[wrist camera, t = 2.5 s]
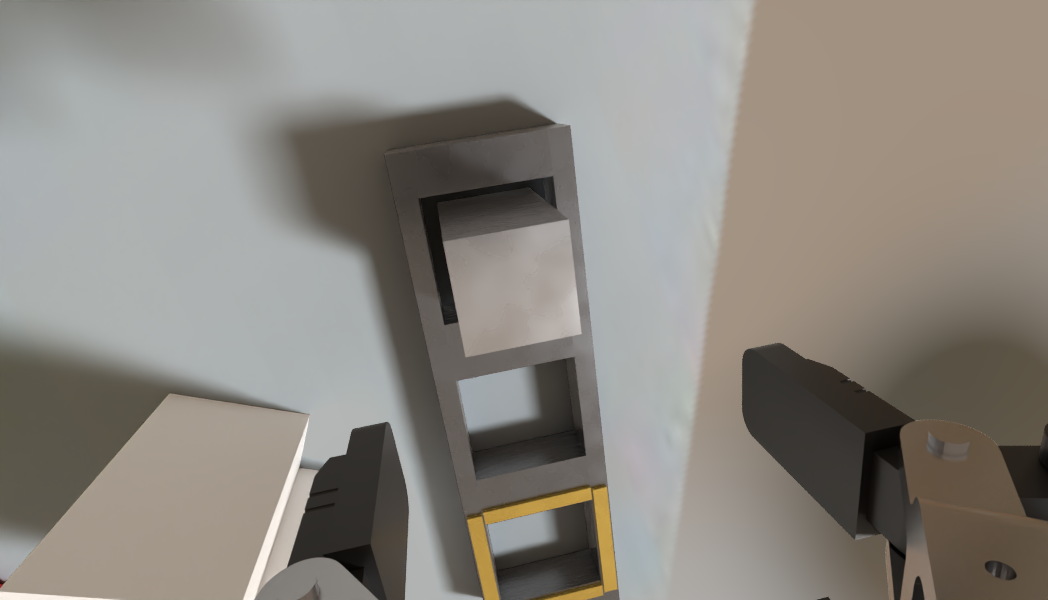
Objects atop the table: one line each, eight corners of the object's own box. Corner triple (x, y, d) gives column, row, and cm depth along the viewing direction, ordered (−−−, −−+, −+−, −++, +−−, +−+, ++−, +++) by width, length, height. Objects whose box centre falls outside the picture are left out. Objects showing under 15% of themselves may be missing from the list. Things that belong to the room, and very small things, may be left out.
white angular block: (169, 393, 27) (-3, 591, 16) (399, 428, 30) (385, 617, 19) (150, 562, 30) (-8, 828, 19) (360, 580, 33) (329, 821, 22)
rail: (387, 150, 25) (383, 155, 23) (557, 123, 26) (571, 125, 24) (486, 598, 35) (491, 636, 33) (606, 568, 36) (620, 603, 34)
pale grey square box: (437, 202, 27) (442, 241, 19) (528, 187, 27) (568, 219, 20) (454, 290, 28) (465, 357, 21) (540, 274, 29) (581, 333, 21)
